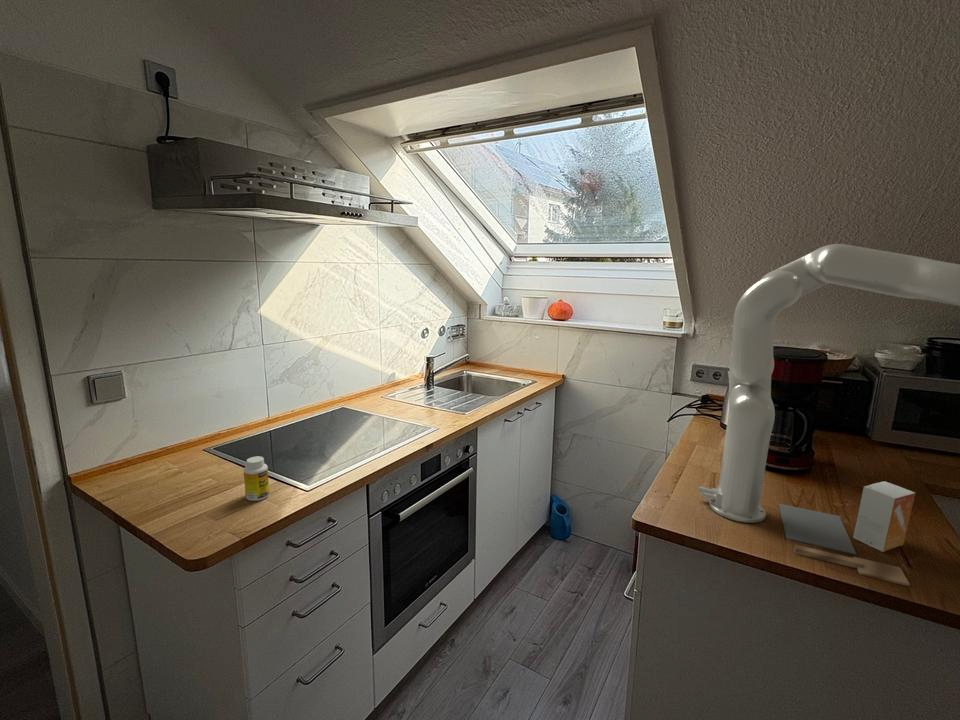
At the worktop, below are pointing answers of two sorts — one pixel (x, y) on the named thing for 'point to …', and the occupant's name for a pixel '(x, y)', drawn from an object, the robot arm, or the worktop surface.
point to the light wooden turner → (858, 565)
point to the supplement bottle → (256, 479)
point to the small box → (883, 515)
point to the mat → (815, 528)
